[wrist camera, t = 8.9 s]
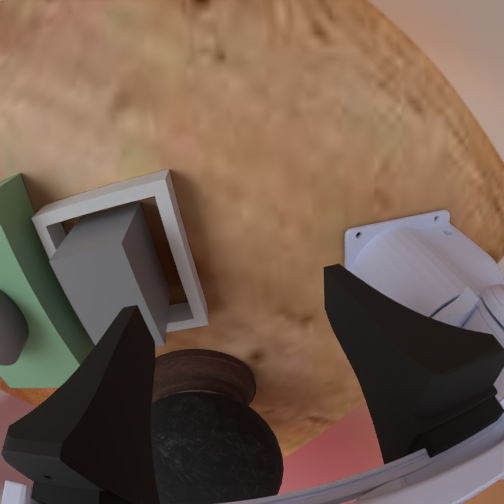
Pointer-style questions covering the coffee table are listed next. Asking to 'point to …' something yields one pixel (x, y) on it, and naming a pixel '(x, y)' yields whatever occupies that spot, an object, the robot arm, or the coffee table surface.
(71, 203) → the green block with dome
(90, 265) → the chute block
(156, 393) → the black ball on stand
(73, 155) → the coffee table surface
